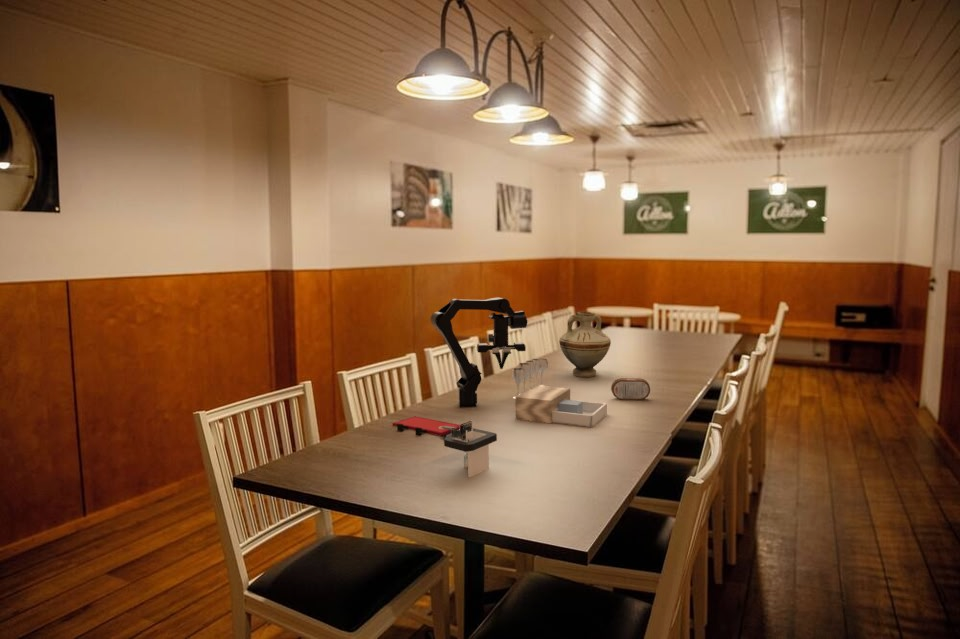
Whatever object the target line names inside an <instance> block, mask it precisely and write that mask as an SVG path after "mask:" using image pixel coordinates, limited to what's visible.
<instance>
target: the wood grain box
mask: <svg viewBox="0 0 960 639" xmlns="http://www.w3.org/2000/svg"><path fill="white" fill-rule="evenodd" d="M538 385H539V384H538ZM538 385H537V384H536V385H535V386H533V387H531V389H530V388H529V389H527V390H525V392H524V391H523V392H522V394H521V393H519V394H520V395H518V394H517V395H516V397H515V396H514V397H515V399H514V400H515V402H514V403H515V404H514V405H515V420H520V419H522V420H521V421H528V420H529V421H530V422H536V421H537V422H538V423H544V422H545V424H553V423H552V411H553V410H555V409H556V408H558V403H559V402H561V401H563V400H564V399H565V400H571V388H568V387H557V386H547V385H545V386H538Z"/></svg>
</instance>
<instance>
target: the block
mask: <svg viewBox="0 0 960 639" xmlns="http://www.w3.org/2000/svg"><path fill="white" fill-rule="evenodd" d="M574 400H575V399H570V400H565V399H564V400H563V401H561V402H559V403H558V411H559V412H567V413H576V414H583V401H584V400H577V401H574Z"/></svg>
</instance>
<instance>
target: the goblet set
mask: <svg viewBox="0 0 960 639" xmlns="http://www.w3.org/2000/svg"><path fill="white" fill-rule="evenodd" d="M548 367H549V362H548V359H547V358H543V357H542V358H532V359H531V360H529V359H528V360H526V361H525V362H519V363H518V364H517V367H514V368H512V370H511V371H512V372H511V376H512V379H513V381H514V383H515V384H516V387H517V395H516V396H518V395H520V394H522V393H524V392H525V391H526V390H525V389H526V387H525V385H526V381H527V379H529V389H531V388H532V387H531V386H532V385H531V382H532V377H533V374H534V377H535V380H534V382H535V384H537V378H538V373H539V375H540V384H538V386H546V385H545V384H543V374H544V372H546V371H547V369H548ZM521 382H522V383H523V392H522V393H519V389H520V388H519V387H520V385H521ZM516 396H513V397H512V399H514V400H515V397H516Z"/></svg>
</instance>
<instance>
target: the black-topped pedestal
mask: <svg viewBox="0 0 960 639" xmlns="http://www.w3.org/2000/svg"><path fill="white" fill-rule="evenodd" d="M459 425H460V430H459V429H457V431H456V429H455V428H453V427H452V435H450V436H448V437H446V438H445V437H444V439H443V444H444V445H443V446H444V447H446V448H451V449H454V450H457V451H461V452H464V453H465V455H464V456H463V468H464V469H467V478H469V479H470V478H471V477H473V476H476V475H479V474H480V473H482V472H484V471H486V470H489V468H490V462H489V460H490V454H489V453H490V452H489V451H490V450H489V449H490V448H489V446H490V445H491V444H492V443H494V442H497V441H498V440H497V439H498V434H497V433H496V432H491V431H487V430H484V429H483V430H482V429H478V428H474V426H473V419H471V420H469V421H467V422H464V423H461V424H460V423H459ZM461 425H462V426H461ZM453 429H454V430H453ZM454 431H455V433H454Z"/></svg>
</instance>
